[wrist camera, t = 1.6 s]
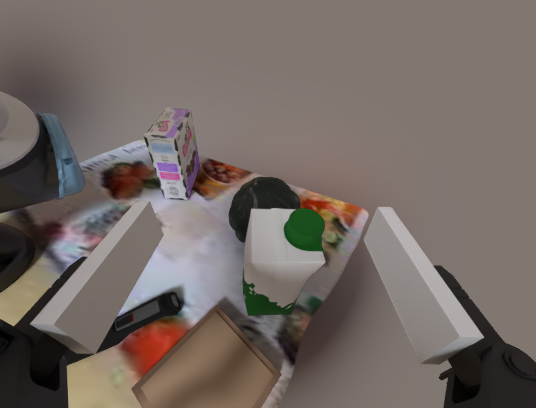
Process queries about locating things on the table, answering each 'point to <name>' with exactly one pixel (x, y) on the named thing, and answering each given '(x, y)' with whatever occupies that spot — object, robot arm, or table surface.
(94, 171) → the table surface
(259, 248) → the milk carton
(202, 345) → the board
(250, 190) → the squash
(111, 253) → the robot arm
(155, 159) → the candy box
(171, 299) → the electric trimmer
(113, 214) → the table surface
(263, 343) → the table surface
